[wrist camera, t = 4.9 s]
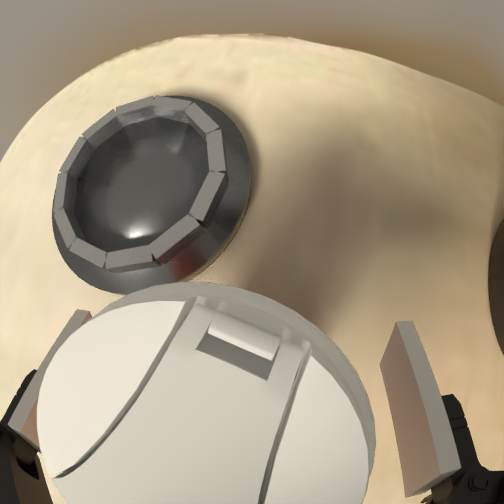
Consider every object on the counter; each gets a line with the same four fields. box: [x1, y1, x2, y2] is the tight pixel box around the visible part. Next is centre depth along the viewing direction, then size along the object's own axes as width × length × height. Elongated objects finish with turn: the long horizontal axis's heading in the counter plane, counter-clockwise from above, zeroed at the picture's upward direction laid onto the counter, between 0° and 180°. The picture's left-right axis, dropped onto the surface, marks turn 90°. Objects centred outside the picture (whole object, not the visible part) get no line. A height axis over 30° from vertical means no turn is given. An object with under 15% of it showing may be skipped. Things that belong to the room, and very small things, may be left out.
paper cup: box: [37, 282, 376, 504], centre depth 11 cm, size 8×8×14 cm
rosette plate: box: [52, 96, 251, 295], centre depth 20 cm, size 16×16×3 cm
